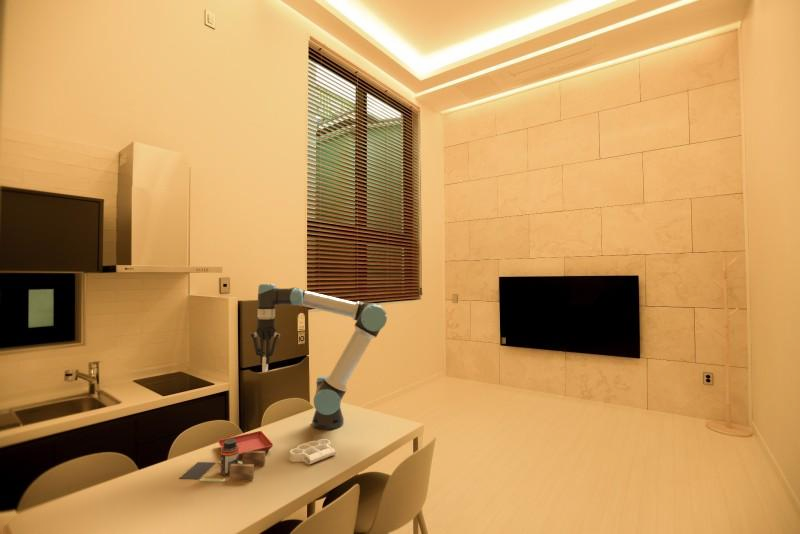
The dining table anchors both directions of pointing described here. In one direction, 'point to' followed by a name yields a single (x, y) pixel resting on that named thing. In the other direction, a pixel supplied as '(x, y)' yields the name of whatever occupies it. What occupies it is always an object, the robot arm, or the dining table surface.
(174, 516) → the dining table surface
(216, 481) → the strips
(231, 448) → the supplement bottle
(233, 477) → the tunnel
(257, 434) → the plant saucer
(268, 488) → the dining table surface
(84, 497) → the dining table surface
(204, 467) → the mat
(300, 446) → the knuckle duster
